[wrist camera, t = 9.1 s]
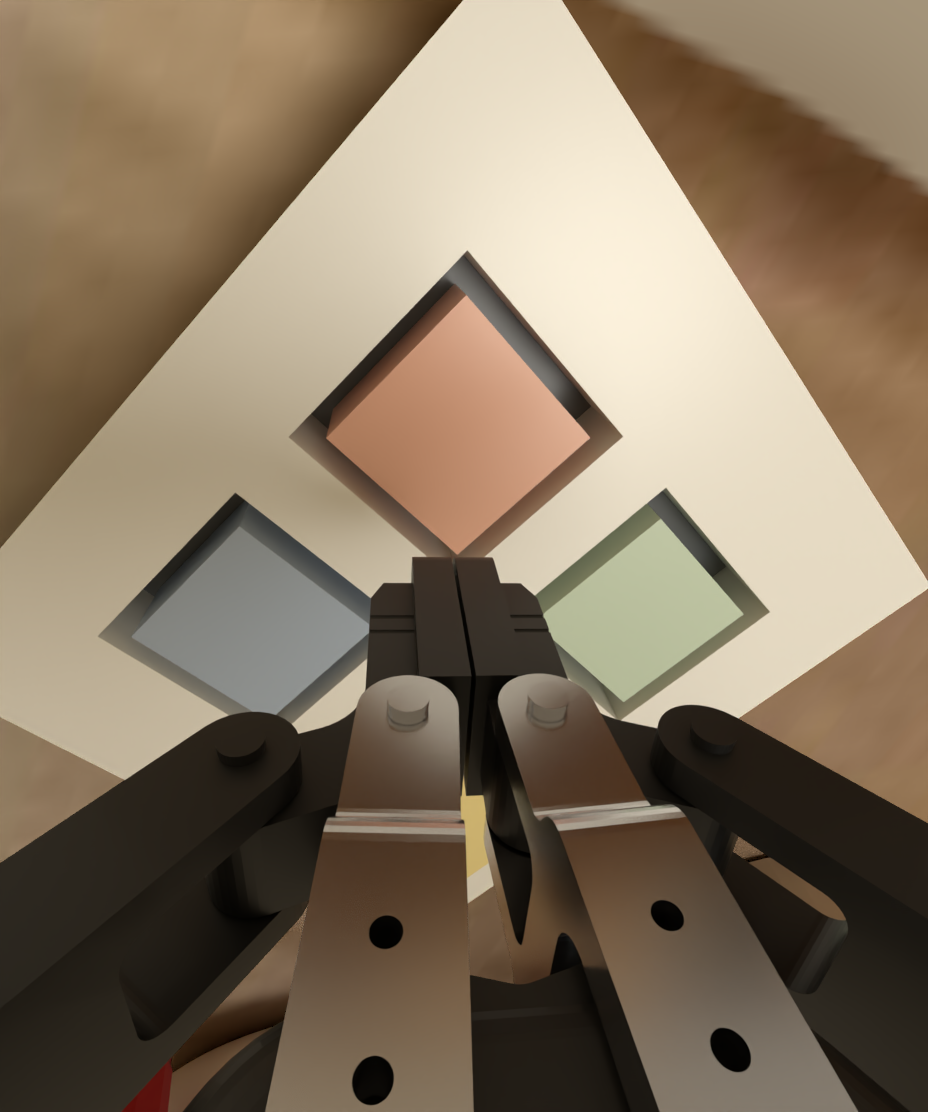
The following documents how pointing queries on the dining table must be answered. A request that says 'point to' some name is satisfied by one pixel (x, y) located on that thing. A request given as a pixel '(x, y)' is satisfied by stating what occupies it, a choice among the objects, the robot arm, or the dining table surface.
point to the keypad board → (536, 336)
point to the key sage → (635, 605)
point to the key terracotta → (454, 423)
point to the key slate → (255, 614)
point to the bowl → (202, 1071)
